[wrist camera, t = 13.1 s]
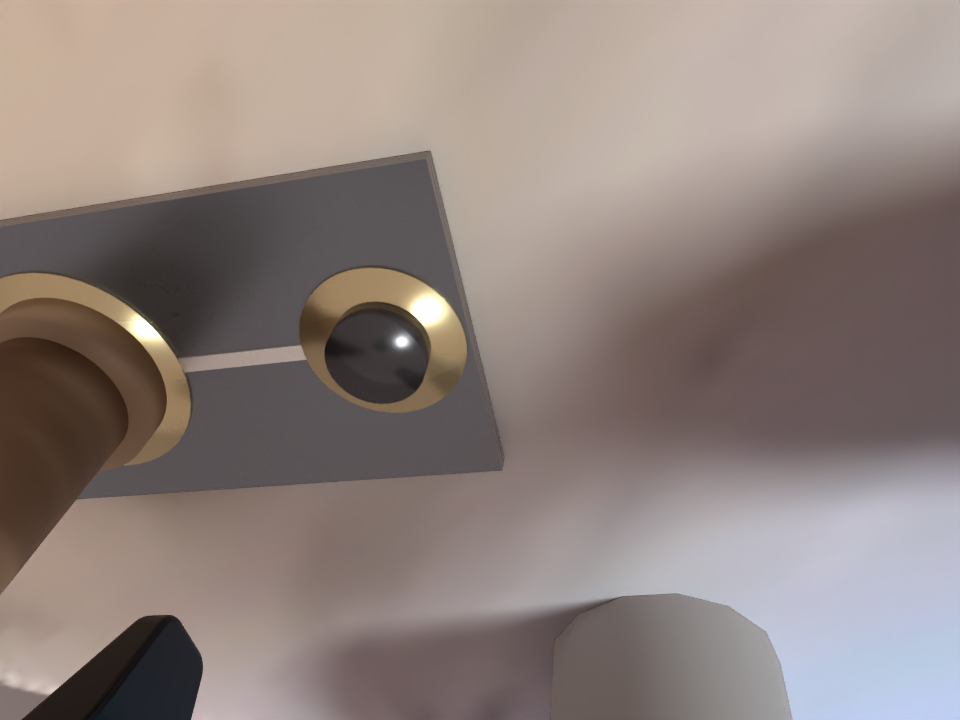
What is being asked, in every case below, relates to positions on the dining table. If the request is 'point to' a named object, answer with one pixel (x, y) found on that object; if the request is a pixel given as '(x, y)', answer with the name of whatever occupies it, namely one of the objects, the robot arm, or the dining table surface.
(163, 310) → the gauge plate
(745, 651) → the cup
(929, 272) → the dining table surface
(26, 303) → the walnut post
